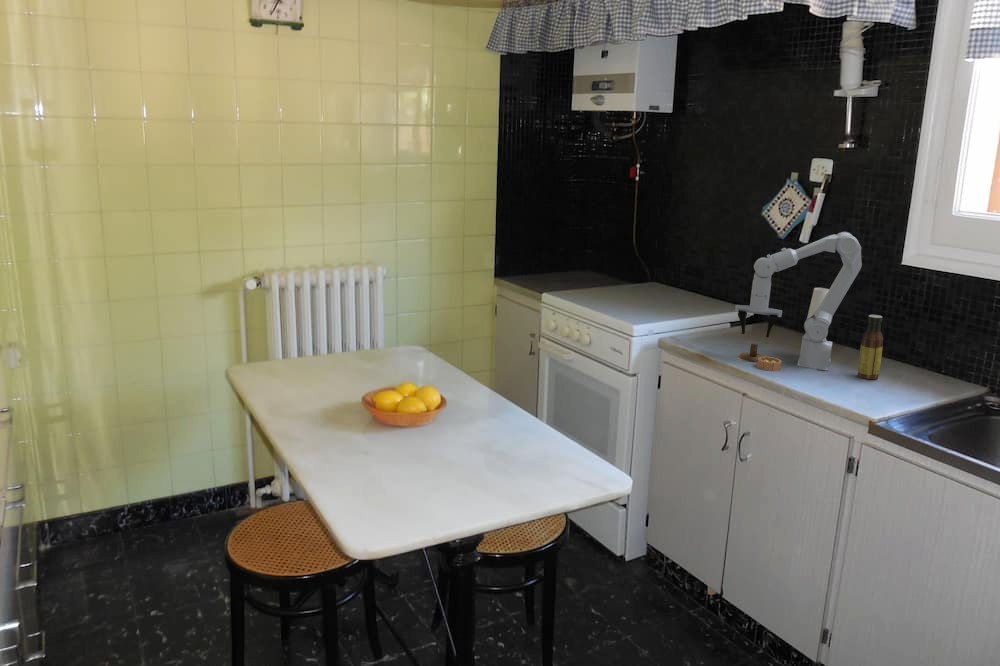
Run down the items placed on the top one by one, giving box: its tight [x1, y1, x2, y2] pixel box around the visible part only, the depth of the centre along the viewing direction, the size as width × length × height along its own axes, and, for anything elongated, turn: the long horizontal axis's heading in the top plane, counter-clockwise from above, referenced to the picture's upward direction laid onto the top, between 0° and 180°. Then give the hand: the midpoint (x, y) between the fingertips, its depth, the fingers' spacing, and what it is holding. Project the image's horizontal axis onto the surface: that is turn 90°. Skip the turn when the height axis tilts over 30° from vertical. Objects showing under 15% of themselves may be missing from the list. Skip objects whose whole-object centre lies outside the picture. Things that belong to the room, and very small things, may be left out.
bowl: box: [756, 356, 783, 372], centre depth 255 cm, size 7×7×3 cm
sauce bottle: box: [857, 314, 884, 381], centre depth 248 cm, size 6×6×20 cm
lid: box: [739, 343, 767, 363], centre depth 264 cm, size 8×8×5 cm
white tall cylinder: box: [806, 287, 830, 320], centre depth 265 cm, size 7×7×24 cm
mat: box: [736, 352, 747, 362], centre depth 265 cm, size 9×8×1 cm
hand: (755, 335), depth 263 cm, fingers open, 7 cm apart
